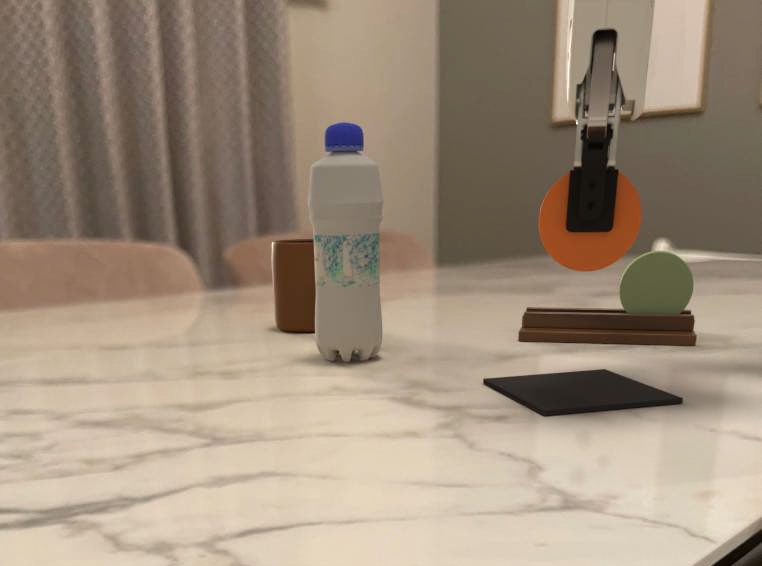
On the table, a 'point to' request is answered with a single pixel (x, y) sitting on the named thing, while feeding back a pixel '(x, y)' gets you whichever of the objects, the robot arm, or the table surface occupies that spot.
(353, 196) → the bottle
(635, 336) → the disc rack
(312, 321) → the mug
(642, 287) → the green disc
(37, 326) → the table surface
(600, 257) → the orange disc
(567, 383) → the mat
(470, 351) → the table surface
